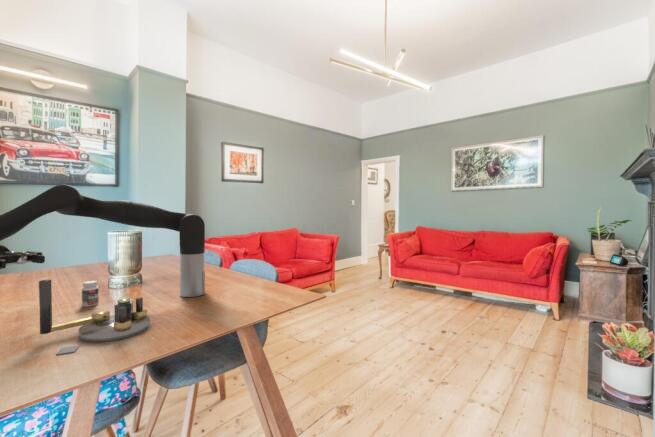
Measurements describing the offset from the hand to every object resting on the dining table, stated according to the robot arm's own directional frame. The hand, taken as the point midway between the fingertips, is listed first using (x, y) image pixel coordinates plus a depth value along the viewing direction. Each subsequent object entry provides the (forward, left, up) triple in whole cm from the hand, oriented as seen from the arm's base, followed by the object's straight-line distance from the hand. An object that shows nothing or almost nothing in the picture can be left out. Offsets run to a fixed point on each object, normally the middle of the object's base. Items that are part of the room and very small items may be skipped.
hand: (24, 261), depth 81 cm
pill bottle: (-8, -26, -21) cm, 35 cm away
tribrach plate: (-21, +4, -21) cm, 30 cm away
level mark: (-13, +14, -21) cm, 28 cm away
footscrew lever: (-12, +2, -19) cm, 22 cm away
